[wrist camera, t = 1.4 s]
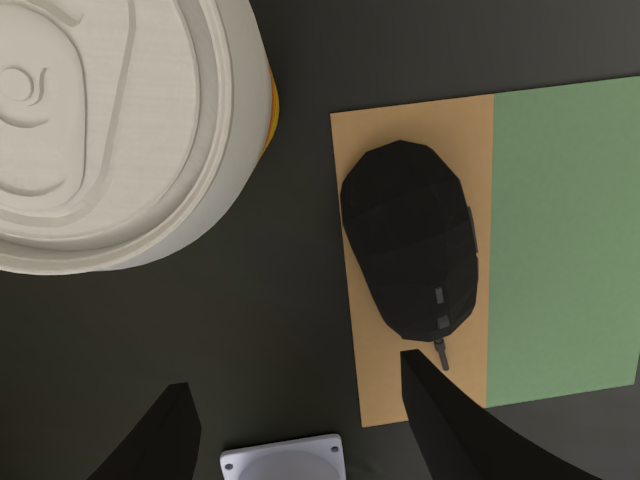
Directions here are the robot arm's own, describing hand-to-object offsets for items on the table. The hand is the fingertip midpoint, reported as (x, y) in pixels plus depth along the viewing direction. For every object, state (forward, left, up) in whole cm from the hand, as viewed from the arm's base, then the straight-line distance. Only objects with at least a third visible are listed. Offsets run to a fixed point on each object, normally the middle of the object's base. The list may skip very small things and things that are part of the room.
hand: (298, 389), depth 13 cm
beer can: (+10, +2, -10) cm, 14 cm away
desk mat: (-1, -13, -10) cm, 16 cm away
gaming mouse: (0, -7, -10) cm, 12 cm away
